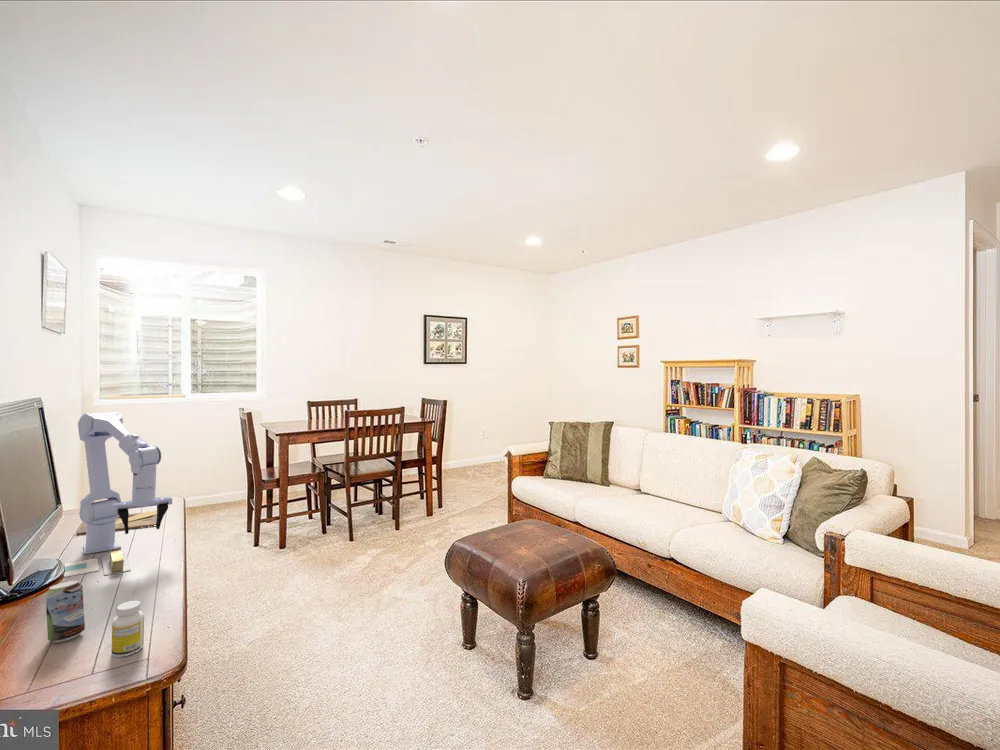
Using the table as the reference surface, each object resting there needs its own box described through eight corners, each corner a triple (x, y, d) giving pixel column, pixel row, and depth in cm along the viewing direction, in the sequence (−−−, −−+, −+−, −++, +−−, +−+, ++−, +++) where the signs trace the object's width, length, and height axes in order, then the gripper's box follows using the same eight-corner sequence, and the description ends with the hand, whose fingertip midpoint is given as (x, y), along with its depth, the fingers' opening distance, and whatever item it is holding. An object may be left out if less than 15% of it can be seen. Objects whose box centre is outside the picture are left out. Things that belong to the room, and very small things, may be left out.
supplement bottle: (122, 643, 104) (124, 598, 104) (149, 643, 104) (150, 598, 104) (104, 658, 98) (106, 611, 98) (132, 658, 99) (133, 611, 99)
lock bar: (110, 561, 144) (110, 552, 144) (120, 560, 145) (121, 550, 145) (112, 572, 137) (112, 561, 137) (123, 570, 138) (123, 559, 138)
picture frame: (162, 514, 194) (85, 522, 181) (162, 509, 194) (86, 517, 181) (159, 527, 179) (76, 537, 166) (159, 522, 179) (76, 532, 166)
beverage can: (62, 648, 101) (64, 592, 101) (35, 643, 103) (37, 587, 103) (92, 632, 107) (94, 579, 107) (66, 628, 109) (68, 575, 109)
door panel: (64, 564, 142) (65, 551, 142) (126, 553, 152) (126, 541, 152) (63, 583, 130) (64, 569, 130) (130, 570, 140) (131, 557, 140)
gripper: (114, 492, 139) (112, 538, 139) (174, 486, 148) (172, 529, 148) (113, 487, 144) (111, 532, 144) (171, 481, 154) (169, 523, 154)
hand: (142, 530), depth 147 cm, fingers open, 7 cm apart
